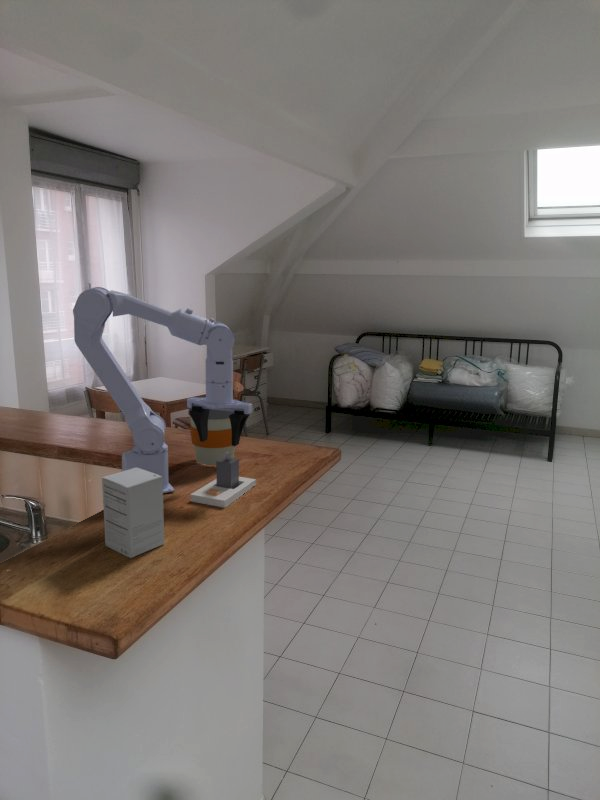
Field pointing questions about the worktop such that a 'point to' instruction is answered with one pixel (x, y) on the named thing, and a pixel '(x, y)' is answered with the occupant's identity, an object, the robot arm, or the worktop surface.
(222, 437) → the reusable coffee cup
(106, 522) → the supplement box
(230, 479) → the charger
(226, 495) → the white board with cutouts
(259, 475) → the worktop surface
